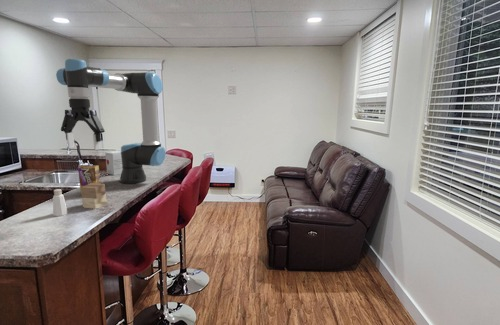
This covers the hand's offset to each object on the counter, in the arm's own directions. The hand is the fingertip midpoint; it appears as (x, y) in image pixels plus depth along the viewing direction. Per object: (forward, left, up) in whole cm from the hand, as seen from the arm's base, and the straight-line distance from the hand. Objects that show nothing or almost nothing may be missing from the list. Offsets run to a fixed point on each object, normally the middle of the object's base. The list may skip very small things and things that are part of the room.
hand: (84, 148), depth 124 cm
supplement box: (-63, -37, -28) cm, 78 cm away
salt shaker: (+8, -8, -28) cm, 30 cm away
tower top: (-5, -2, -23) cm, 24 cm away
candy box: (-19, -17, -28) cm, 38 cm away
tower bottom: (-5, -2, -28) cm, 29 cm away
